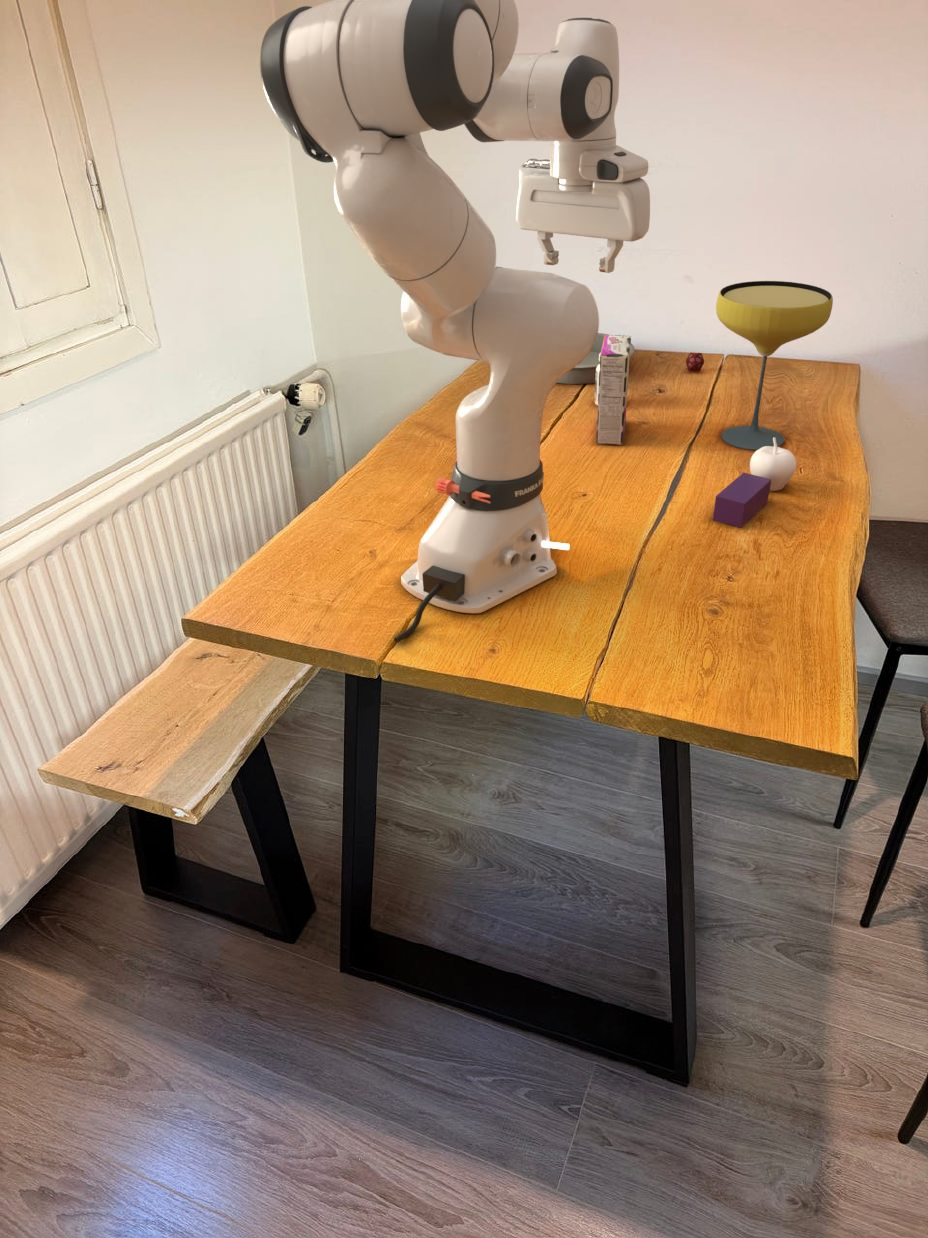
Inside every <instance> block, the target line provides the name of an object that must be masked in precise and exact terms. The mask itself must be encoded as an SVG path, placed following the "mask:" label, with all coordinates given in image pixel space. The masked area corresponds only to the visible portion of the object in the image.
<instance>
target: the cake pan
mask: <svg viewBox="0 0 928 1238" xmlns="http://www.w3.org/2000/svg"><path fill="white" fill-rule="evenodd" d="M605 335H610V334H608V333H602V332H598V334H597V338H596V341H595V343H594V345H593V347H592V349H591V351H590V352H589V354H588V355H587V356H586V358H585V359H584V360H583V361H582V362H581V363H580V364H578V365H577V366H576V367H574V368H573V369H571V370H570V371H568V372H567V373H565V374H564V375H563V376H562V377H561V378H560V379H559V380H558V381H557V383H556V384H565V385H588V384H595V382H596V368H597V366H598V365H599V364H600V361H599V354H600V353H601V350H602V346H603V341H604V336H605ZM635 349H636V348H635V346H634V345H633V344H632V343H631V346H630V358H631V357H632V356H633V355H634V354H635V351H636V350H635Z"/></svg>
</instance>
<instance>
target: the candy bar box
mask: <svg viewBox="0 0 928 1238" xmlns="http://www.w3.org/2000/svg"><path fill="white" fill-rule="evenodd" d="M631 342H632V335H625V334H624V335H623V334H622V335H621V334H614V335H613V334H609V335H605V336H604V341H603V346H602V350H601V354H600V372H599V396H598V406H597V420H596V421H597V422H596V440H595V441H596V442H595V443H596V444H597V445H602V446H603V445H604V446H623V443H624V437H625V429H626V423H627V420H626V419H627V408H628V407H627V405H628V387H629V374H630V373H629V372H630V358H631V357H630V346H631V344H632V343H631Z"/></svg>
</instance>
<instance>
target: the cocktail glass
mask: <svg viewBox="0 0 928 1238" xmlns="http://www.w3.org/2000/svg"><path fill="white" fill-rule="evenodd" d="M833 304H834V298H833V295H832V293H831V292H830V291H828V290H827V289H824V288H822V287H819V286H816V285H813V284H812V285H811V284H808V283H802V282H794V281H783V280H781V281H780V280H756V281H755V280H754V281H742V282H737V283H733V284H729V285H727V286H724V287H723V288H721V289H720V291H719V293H718V295H717V299H716V305H715V311H716V312H715V313H716V316H717V318H718V320H719V322H721V324H722V325H723V326H724V327H726V328H727V329H728V330H730V331H731V332H732V333H734V334H736V335H738V336H739V337H742V338H744V339H745V340H747V341H749V342H750V343H752V344H753V346H754V347H755V349H756V351H757V353H758V354H759V355H760V356H762V363H761V368H760V369H761V370H760V377H759V381H758V388H757V394H756V400H755V406H754V410H753V415H752V419H751V422H750V425H737V426H732V427H729V428H726V429H724V430H723V431H722V433H721V434H720V437H721V440H722V441H723V442H724V443H725V444H727V445H728V446H731V447H734V448H737V449H742V450H746V451H747V450H748V451H757V450H758V449H760V448H762V447H765V446H772V447H774V443H773V438H776V443H777V447H781V446H782V445H783V444H784V443H785V437H784V436H783V435H782V433H780V432H779V431H777V430H774V429H771V428H768V427H764V426H759V417H760V416H759V414H760V407H761V406H760V405H761V398H762V394H763V393H762V392H763V385H764V379H765V374H766V367H767V359H768V357H770V356H772V355H773V354H774V353H775V352H776V351H777V350H778V349H779V348H780V347H782V346H783V345H785V344H788V343H790V342H792V341H795V340H798V339H799V340H800V339H802V338H804V337H806V336H809V335H810V334H813V333H815V332H816V331H818V330H819V329H821V328H822V327H824V326H825V325H826V324H827V323H828V321H829V319H830V317H831V314H832V310H833Z"/></svg>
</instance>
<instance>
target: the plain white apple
mask: <svg viewBox="0 0 928 1238" xmlns="http://www.w3.org/2000/svg"><path fill="white" fill-rule="evenodd" d="M773 443H774V447H772V446H765V447H762V448H760V449H758V450H755V452H754V453H753V454H752V456H751V457H750V460H749V471H750V474H752V475H756V476H760V477H764V478H768V479H771V485H770V491H769V492H777V491H780V490H782V489H784V487H785V486H786V485H787V484H788V482H789V481H790V480H791V479H792V477H793V476H794V474H795V472H796V470H797V458H796V456H795V455H794V454H793V452H792V451H791V450H790V449H786V448H782V447H781V446H779V447H777V443H776V438H773Z"/></svg>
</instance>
